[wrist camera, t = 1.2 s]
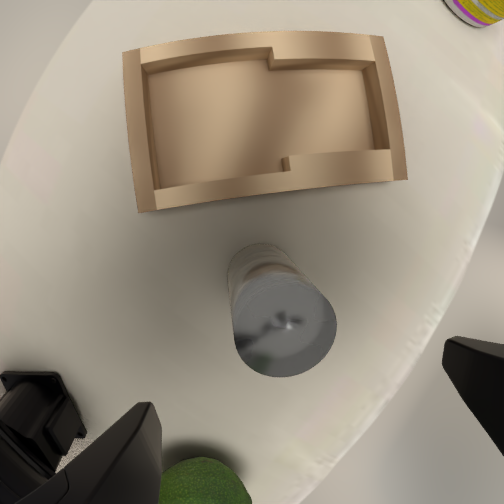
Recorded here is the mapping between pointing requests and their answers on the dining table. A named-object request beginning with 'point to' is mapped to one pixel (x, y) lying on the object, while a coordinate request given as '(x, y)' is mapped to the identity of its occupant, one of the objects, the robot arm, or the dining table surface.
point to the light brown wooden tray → (260, 115)
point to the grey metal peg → (277, 313)
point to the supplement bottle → (478, 11)
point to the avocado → (202, 484)
